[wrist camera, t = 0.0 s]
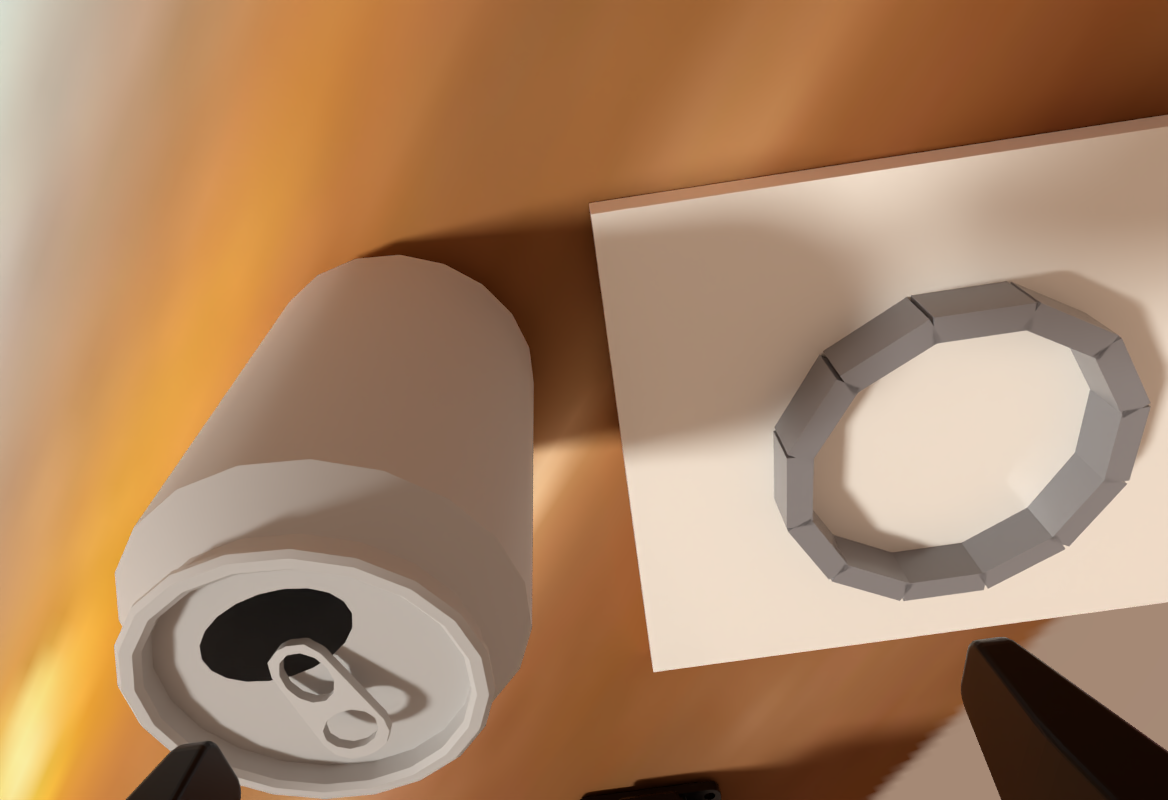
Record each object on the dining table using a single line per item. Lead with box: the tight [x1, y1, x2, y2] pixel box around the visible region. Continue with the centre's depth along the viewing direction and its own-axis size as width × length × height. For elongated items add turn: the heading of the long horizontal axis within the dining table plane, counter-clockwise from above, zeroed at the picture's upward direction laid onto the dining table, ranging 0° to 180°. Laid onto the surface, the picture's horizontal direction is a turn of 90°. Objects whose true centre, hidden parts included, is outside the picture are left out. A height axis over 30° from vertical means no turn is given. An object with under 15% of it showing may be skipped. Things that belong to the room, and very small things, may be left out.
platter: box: [589, 115, 1168, 672], centre depth 24 cm, size 18×20×2 cm
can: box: [114, 255, 534, 799], centre depth 18 cm, size 8×8×12 cm
